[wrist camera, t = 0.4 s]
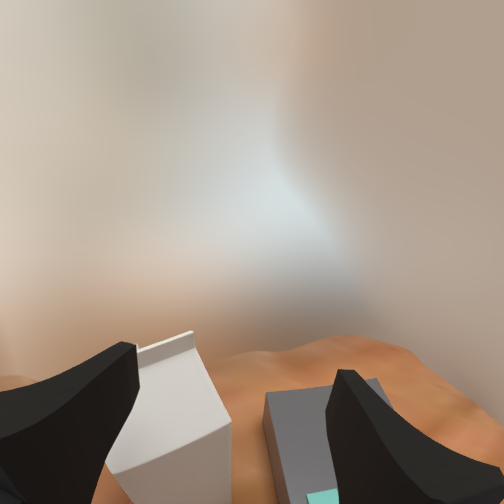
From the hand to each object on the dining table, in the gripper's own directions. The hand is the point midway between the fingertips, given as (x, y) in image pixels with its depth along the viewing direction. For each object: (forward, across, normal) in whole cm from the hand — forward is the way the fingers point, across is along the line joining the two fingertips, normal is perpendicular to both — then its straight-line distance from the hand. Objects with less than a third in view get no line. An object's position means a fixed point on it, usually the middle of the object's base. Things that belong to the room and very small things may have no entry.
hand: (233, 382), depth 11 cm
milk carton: (+6, +4, +21) cm, 22 cm away
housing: (+11, -10, +19) cm, 24 cm away
